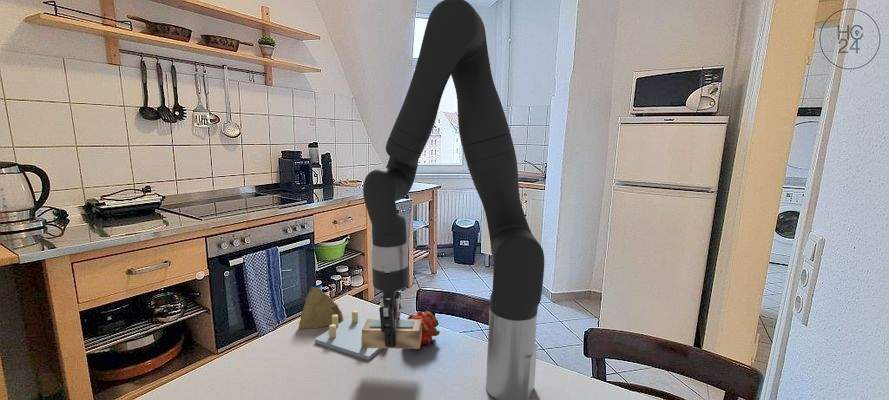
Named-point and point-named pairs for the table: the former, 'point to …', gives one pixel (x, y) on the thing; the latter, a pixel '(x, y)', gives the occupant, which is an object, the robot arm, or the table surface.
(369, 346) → the frame
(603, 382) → the table surface
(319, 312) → the rock
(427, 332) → the dragon fruit
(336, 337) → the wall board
